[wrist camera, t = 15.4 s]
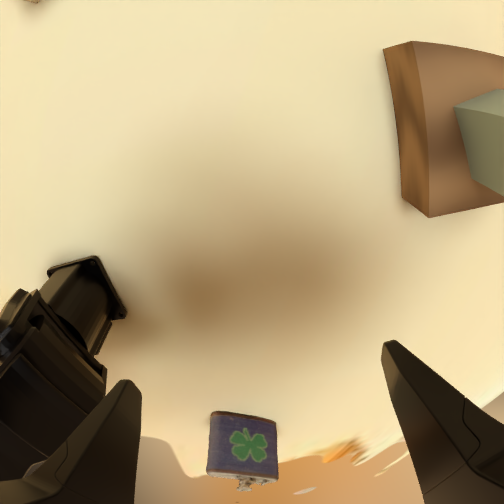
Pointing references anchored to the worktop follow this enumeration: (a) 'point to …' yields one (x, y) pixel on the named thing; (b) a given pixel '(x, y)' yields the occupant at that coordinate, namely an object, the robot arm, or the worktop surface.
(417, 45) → the base brick
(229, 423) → the flask
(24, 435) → the robot arm
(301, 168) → the worktop surface
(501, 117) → the tall block
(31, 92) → the worktop surface
